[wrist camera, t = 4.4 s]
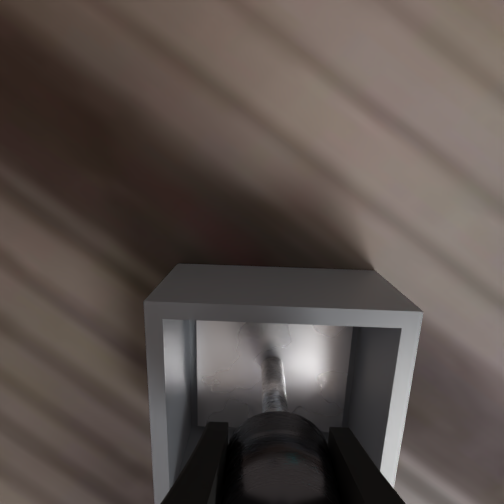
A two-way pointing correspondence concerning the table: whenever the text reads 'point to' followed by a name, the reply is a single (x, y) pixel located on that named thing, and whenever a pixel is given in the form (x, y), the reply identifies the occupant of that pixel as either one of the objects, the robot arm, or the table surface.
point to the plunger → (274, 406)
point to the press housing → (283, 312)
